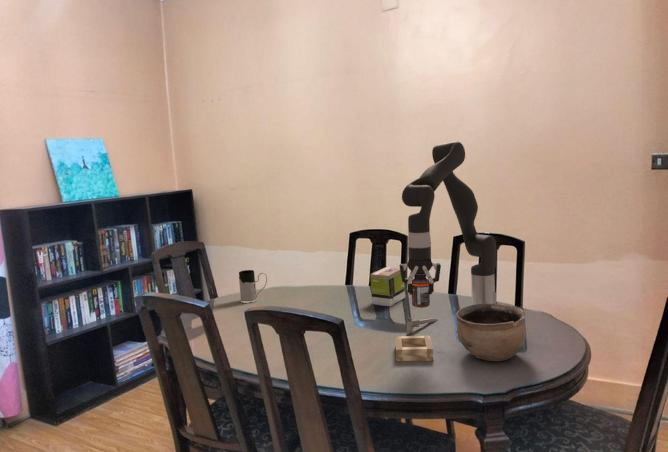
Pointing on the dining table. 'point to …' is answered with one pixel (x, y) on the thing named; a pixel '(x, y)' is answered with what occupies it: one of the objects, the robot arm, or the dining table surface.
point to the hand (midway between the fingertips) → (420, 293)
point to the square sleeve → (414, 348)
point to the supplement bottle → (420, 291)
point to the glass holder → (248, 285)
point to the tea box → (387, 286)
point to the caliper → (417, 323)
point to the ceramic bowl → (491, 330)
